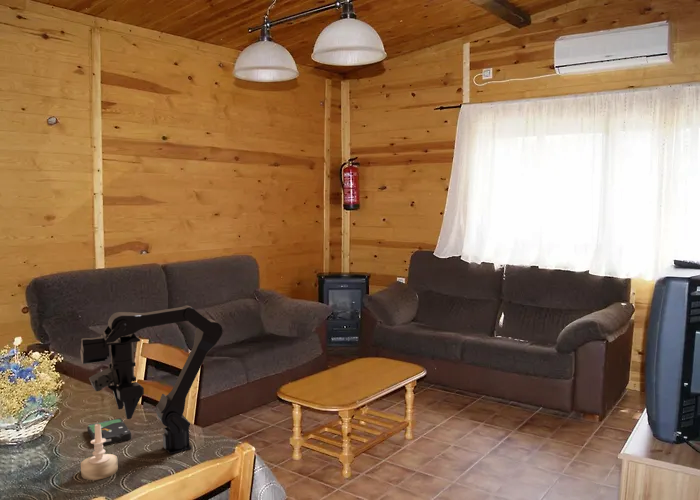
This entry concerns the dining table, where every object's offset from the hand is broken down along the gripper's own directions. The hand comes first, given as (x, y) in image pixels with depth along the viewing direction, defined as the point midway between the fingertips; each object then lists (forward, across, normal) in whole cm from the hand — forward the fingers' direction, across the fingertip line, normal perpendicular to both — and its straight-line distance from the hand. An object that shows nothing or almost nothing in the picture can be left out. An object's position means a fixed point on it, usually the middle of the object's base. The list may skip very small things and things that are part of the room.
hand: (124, 413), depth 169 cm
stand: (+13, +4, -8) cm, 16 cm away
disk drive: (+14, -21, 0) cm, 25 cm away
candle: (+10, +4, -8) cm, 13 cm away
